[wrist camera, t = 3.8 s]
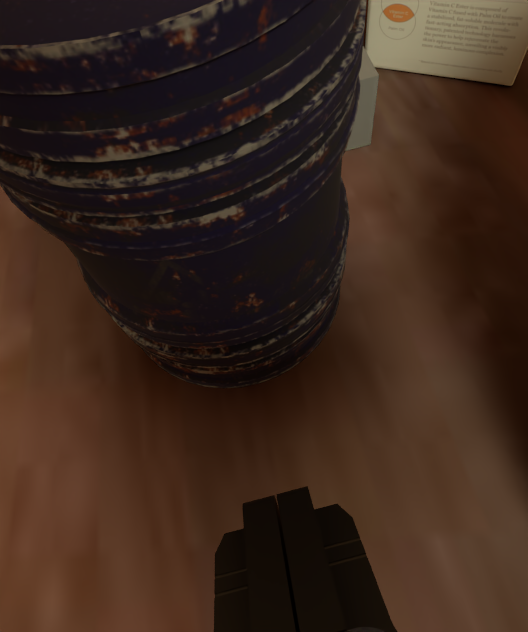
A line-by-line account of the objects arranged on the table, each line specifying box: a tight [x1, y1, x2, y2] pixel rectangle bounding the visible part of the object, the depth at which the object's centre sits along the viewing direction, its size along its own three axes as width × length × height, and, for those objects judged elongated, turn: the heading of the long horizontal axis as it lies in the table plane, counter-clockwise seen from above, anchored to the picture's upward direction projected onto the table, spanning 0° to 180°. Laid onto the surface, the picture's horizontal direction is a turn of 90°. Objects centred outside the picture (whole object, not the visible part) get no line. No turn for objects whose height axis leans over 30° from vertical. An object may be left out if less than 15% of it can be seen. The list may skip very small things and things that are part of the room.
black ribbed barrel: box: [0, 0, 366, 388], centre depth 16 cm, size 10×10×15 cm
